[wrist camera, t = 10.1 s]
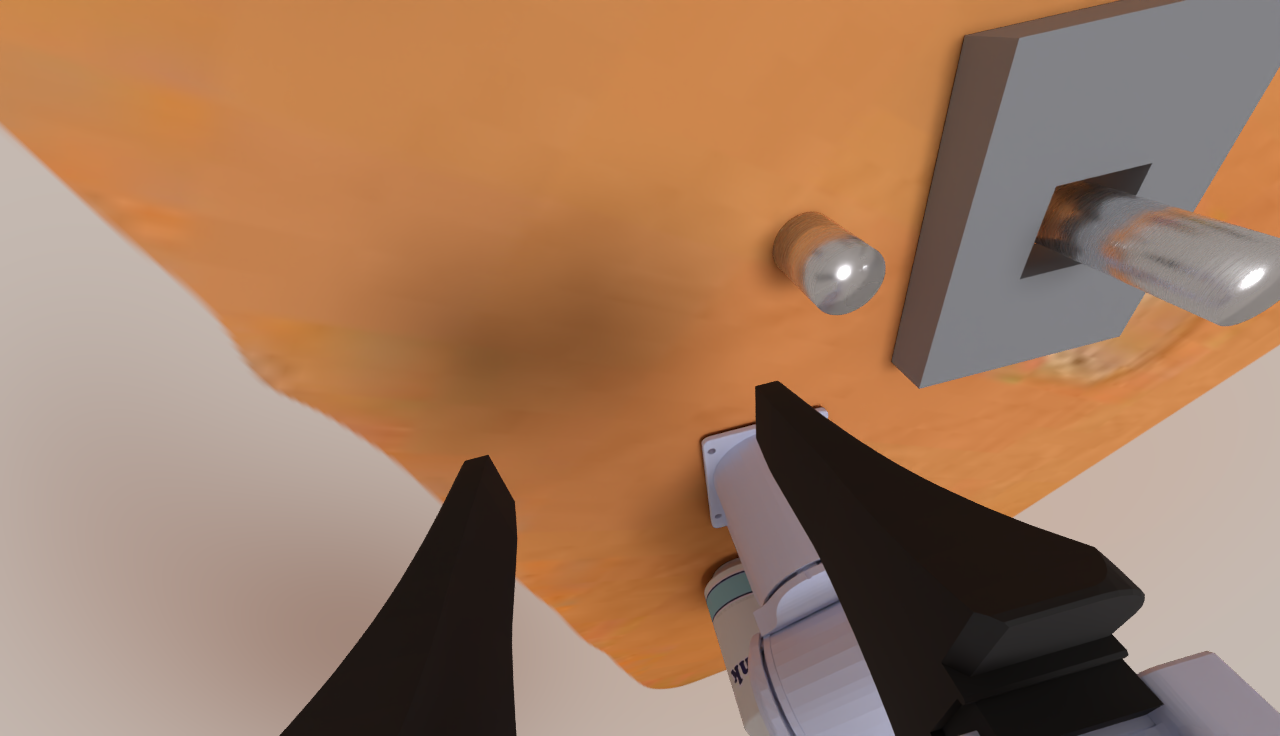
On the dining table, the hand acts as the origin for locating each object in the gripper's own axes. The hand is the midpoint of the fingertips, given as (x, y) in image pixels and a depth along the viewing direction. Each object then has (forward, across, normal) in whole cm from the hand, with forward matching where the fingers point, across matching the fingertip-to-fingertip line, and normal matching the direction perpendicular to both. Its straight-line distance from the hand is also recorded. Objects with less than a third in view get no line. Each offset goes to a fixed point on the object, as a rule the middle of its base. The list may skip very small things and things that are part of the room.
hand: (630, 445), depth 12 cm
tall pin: (+10, -22, +2) cm, 24 cm away
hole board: (+10, -22, +2) cm, 24 cm away
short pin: (+10, -10, +1) cm, 14 cm away
